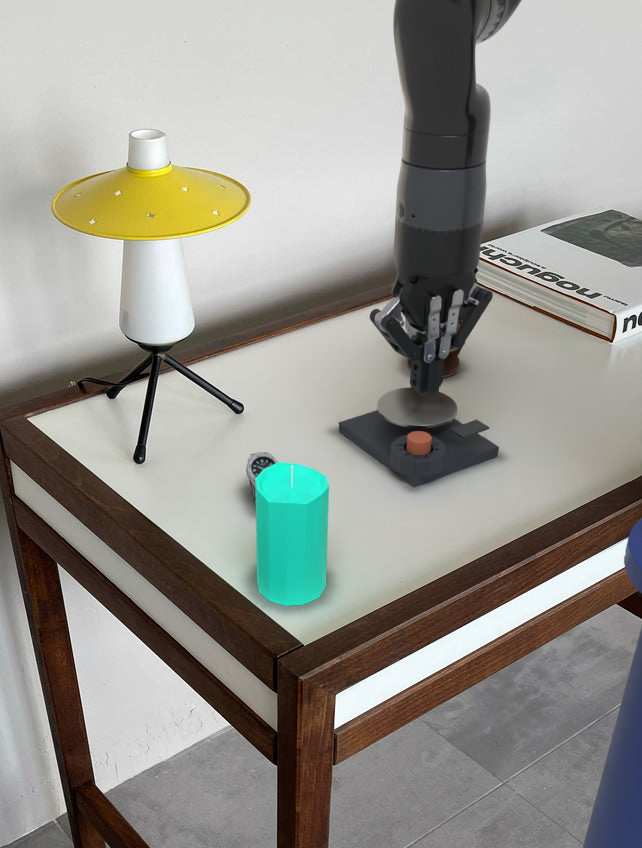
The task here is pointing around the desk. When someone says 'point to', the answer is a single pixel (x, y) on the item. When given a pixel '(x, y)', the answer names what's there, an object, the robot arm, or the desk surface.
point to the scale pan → (424, 411)
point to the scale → (415, 469)
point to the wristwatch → (258, 468)
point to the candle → (291, 533)
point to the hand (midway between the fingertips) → (425, 392)
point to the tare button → (418, 443)
